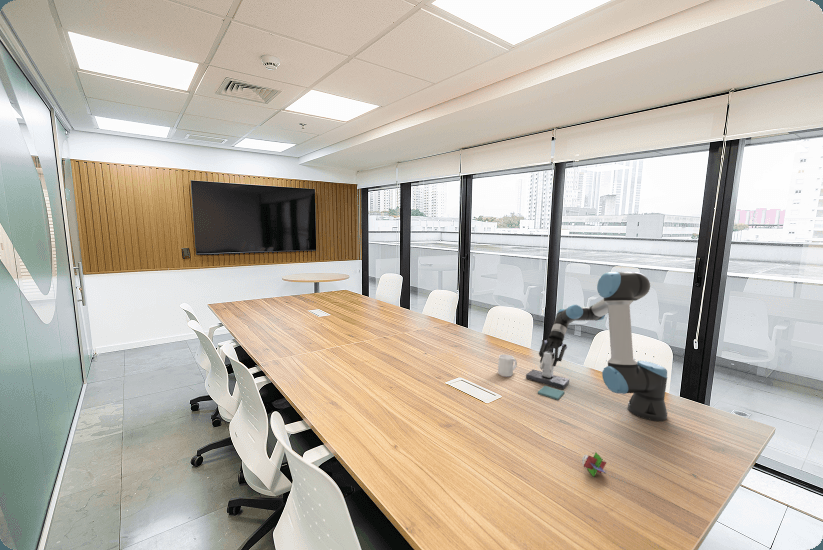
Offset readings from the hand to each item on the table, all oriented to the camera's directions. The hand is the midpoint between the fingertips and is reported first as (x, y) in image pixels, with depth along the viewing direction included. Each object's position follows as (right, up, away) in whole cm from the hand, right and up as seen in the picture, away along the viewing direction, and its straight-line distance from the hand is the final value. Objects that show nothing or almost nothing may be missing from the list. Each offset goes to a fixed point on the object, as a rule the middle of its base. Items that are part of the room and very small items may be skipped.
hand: (545, 369), depth 190 cm
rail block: (+2, -7, +4) cm, 9 cm away
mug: (-17, -6, +12) cm, 22 cm away
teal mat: (-2, -9, -12) cm, 15 cm away
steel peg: (+2, -5, +3) cm, 6 cm away
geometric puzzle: (-11, -16, -71) cm, 74 cm away
